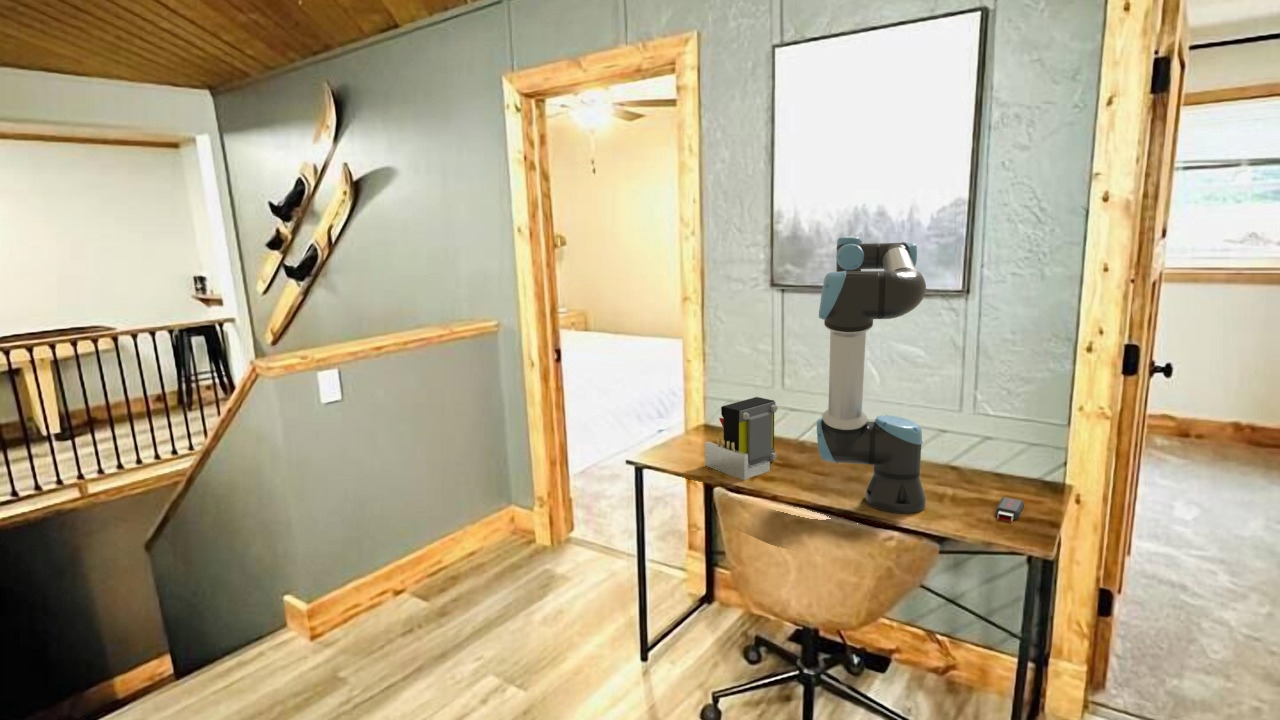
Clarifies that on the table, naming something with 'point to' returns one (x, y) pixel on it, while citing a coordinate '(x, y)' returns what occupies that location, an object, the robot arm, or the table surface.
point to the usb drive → (1009, 509)
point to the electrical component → (751, 428)
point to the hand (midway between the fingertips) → (845, 360)
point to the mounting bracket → (732, 461)
